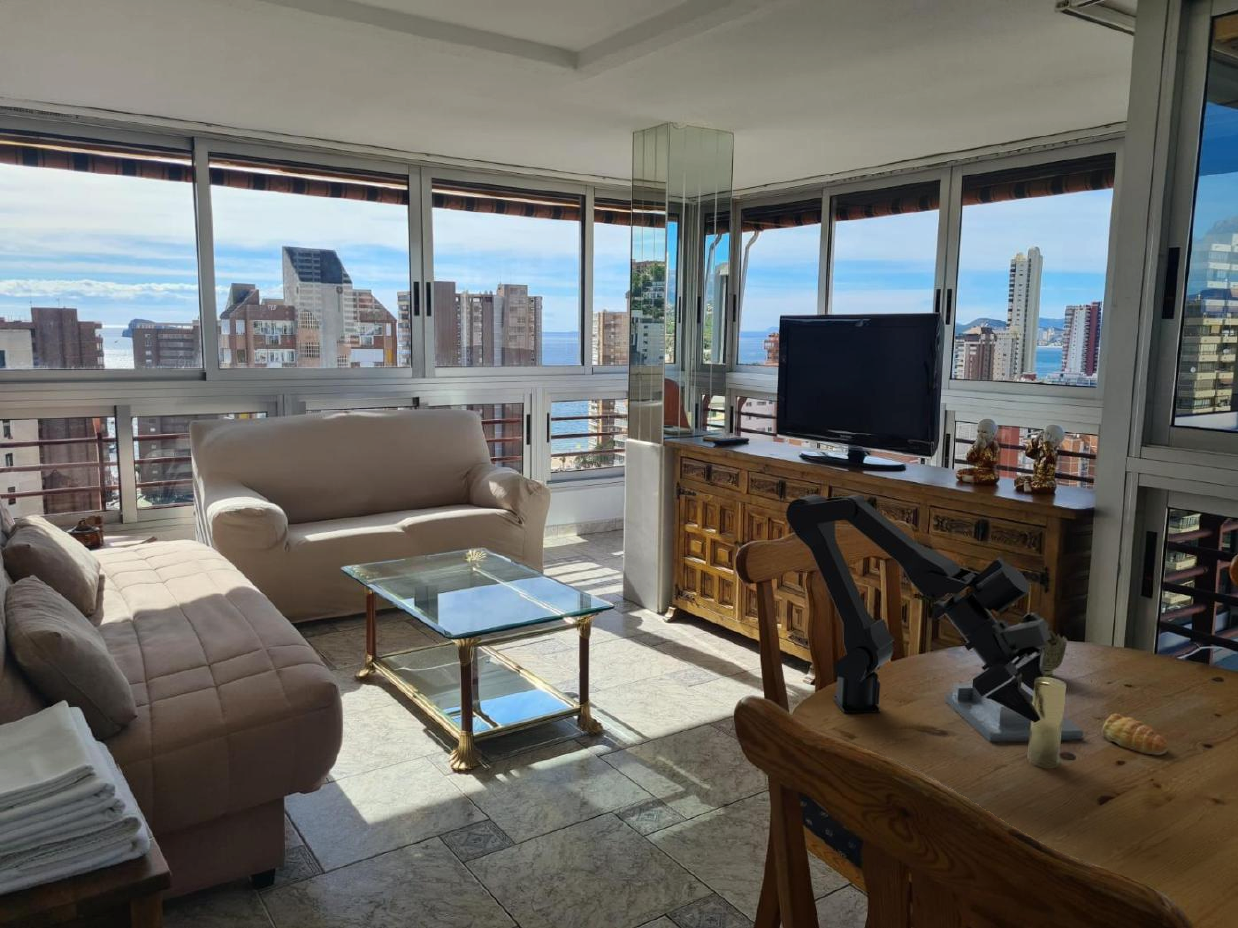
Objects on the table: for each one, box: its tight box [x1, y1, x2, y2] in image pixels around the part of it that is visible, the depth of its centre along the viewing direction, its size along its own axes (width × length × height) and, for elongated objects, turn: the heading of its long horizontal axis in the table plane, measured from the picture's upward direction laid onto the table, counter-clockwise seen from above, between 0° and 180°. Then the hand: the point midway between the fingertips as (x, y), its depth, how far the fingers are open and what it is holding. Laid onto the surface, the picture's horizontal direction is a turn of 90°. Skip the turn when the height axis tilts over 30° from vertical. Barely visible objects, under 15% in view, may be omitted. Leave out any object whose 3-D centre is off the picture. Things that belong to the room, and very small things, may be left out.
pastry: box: [1101, 713, 1170, 756], centre depth 148 cm, size 9×7×4 cm
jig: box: [944, 682, 1084, 743], centre depth 156 cm, size 16×16×4 cm
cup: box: [1035, 630, 1068, 678], centre depth 176 cm, size 8×7×8 cm
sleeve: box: [1026, 677, 1067, 770], centre depth 140 cm, size 4×4×13 cm
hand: (1046, 711), depth 140 cm, fingers open, 9 cm apart
